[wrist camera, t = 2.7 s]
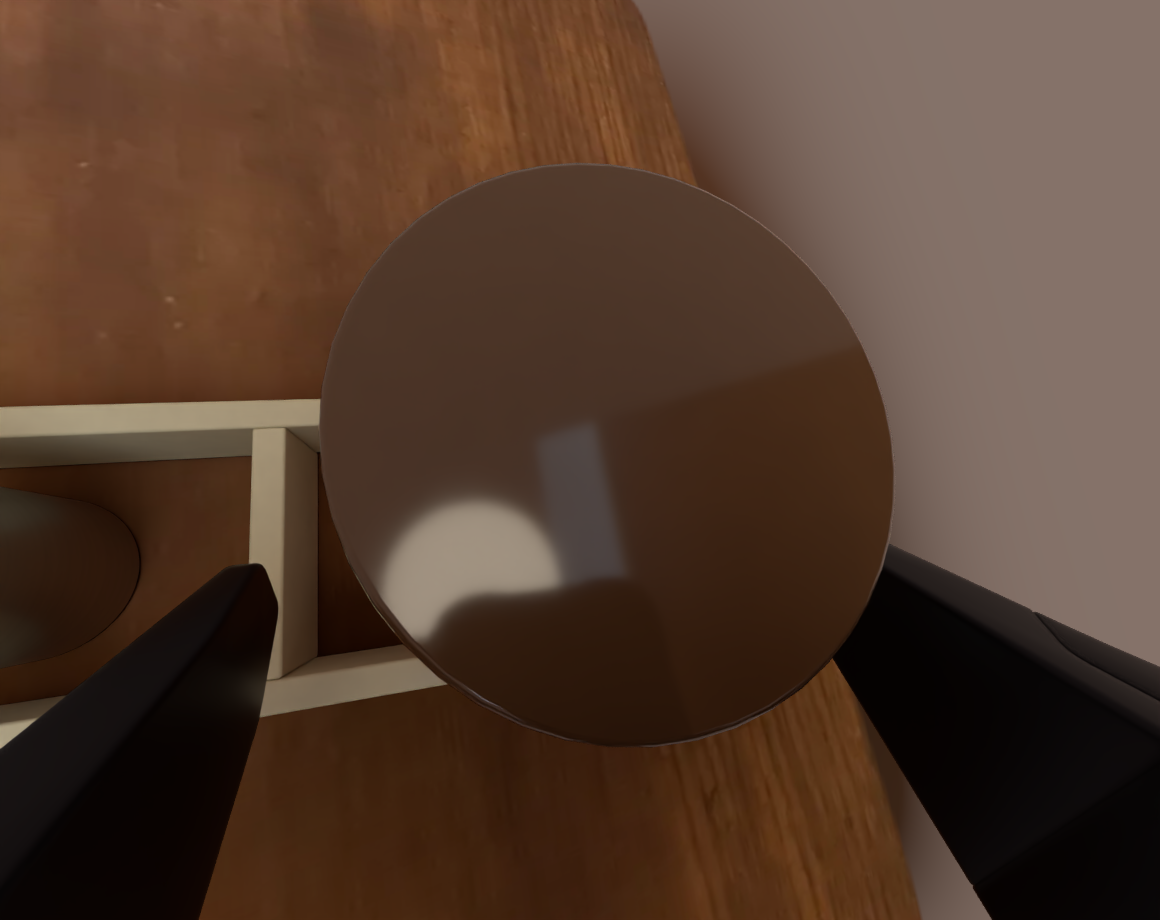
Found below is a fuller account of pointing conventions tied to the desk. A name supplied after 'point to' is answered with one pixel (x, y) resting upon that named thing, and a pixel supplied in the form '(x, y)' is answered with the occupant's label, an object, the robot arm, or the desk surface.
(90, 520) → the cylinder
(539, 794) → the desk surface
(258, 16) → the desk surface
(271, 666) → the spice rack
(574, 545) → the spice jar
